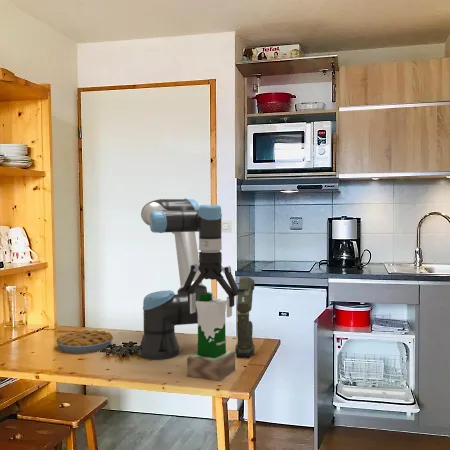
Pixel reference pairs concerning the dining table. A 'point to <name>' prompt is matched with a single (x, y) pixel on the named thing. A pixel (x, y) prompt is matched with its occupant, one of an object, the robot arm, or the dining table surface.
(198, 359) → the step block
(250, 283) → the mechanical leg
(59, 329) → the dining table surface
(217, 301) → the soya milk
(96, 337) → the pie
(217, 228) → the robot arm
